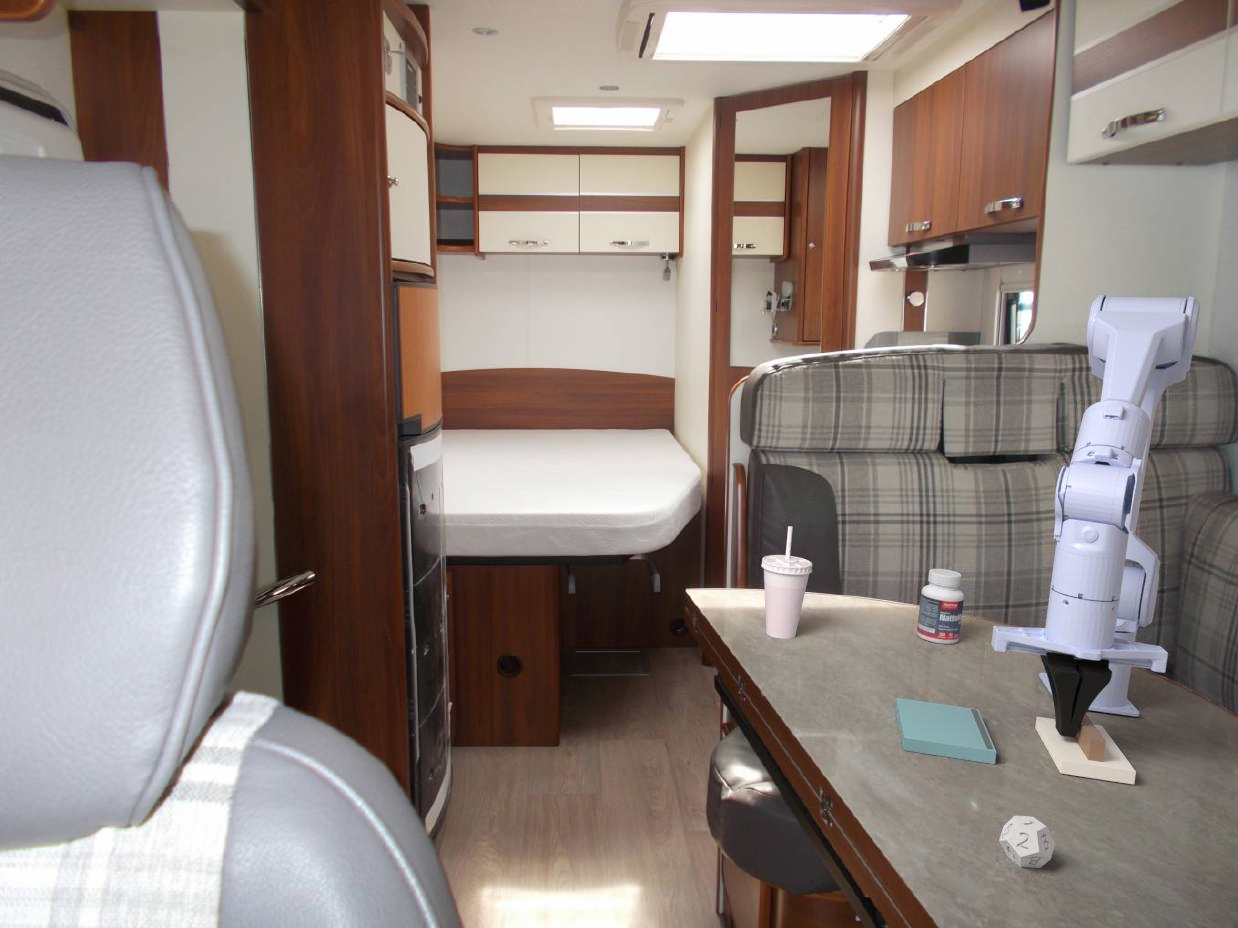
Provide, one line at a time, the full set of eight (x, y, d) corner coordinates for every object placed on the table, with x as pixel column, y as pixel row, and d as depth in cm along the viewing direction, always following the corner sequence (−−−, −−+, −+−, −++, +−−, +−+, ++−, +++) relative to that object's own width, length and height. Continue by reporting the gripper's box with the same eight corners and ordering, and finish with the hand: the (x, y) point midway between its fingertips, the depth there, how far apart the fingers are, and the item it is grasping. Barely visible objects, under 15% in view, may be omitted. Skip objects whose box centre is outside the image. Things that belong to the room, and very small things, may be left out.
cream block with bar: (1035, 727, 89) (1039, 697, 89) (1100, 737, 88) (1104, 706, 88) (1060, 773, 80) (1065, 739, 79) (1134, 784, 78) (1139, 749, 78)
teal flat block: (895, 708, 92) (896, 696, 92) (976, 720, 91) (978, 708, 90) (903, 750, 83) (904, 736, 82) (994, 764, 81) (996, 750, 81)
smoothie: (806, 629, 117) (816, 525, 115) (805, 645, 111) (815, 535, 109) (757, 623, 118) (766, 520, 116) (753, 638, 112) (762, 529, 110)
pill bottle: (938, 646, 113) (946, 579, 112) (907, 633, 118) (915, 568, 117) (967, 642, 116) (975, 576, 115) (936, 629, 120) (943, 566, 119)
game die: (987, 850, 67) (991, 812, 66) (1027, 844, 68) (1032, 807, 67) (1021, 877, 63) (1026, 838, 63) (1062, 871, 64) (1068, 832, 64)
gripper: (1009, 594, 80) (991, 737, 82) (1188, 615, 77) (1165, 763, 79) (994, 575, 87) (978, 708, 88) (1159, 593, 83) (1139, 731, 85)
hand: (1065, 732), depth 84 cm, fingers closed
